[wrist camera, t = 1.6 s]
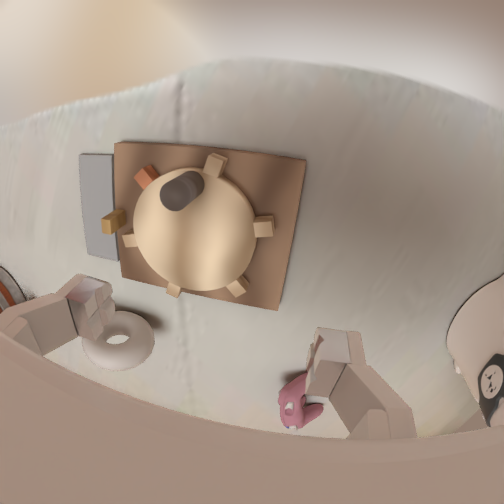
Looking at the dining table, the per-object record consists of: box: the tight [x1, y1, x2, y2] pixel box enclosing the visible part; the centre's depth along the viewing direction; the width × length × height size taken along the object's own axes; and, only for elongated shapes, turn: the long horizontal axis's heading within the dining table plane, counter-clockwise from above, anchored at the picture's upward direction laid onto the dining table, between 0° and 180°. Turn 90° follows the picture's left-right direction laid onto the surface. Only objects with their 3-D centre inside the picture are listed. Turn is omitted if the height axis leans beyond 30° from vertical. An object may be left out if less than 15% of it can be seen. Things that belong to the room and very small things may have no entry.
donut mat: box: [79, 154, 120, 261], centre depth 31 cm, size 5×13×1 cm, turn 173°
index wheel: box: [122, 153, 275, 298], centre depth 26 cm, size 15×15×6 cm
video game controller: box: [278, 372, 323, 430], centre depth 37 cm, size 10×5×7 cm, turn 11°
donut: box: [82, 311, 155, 371], centre depth 34 cm, size 10×4×10 cm, turn 84°
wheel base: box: [101, 142, 306, 311], centre depth 28 cm, size 19×16×4 cm
